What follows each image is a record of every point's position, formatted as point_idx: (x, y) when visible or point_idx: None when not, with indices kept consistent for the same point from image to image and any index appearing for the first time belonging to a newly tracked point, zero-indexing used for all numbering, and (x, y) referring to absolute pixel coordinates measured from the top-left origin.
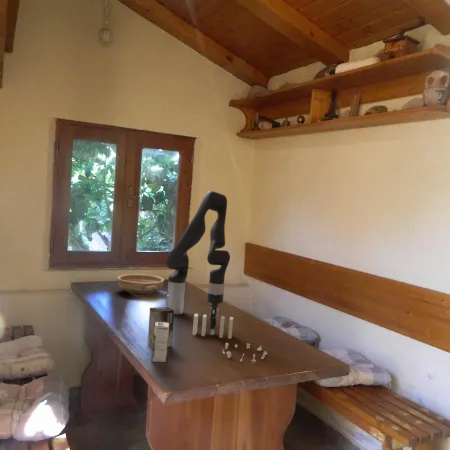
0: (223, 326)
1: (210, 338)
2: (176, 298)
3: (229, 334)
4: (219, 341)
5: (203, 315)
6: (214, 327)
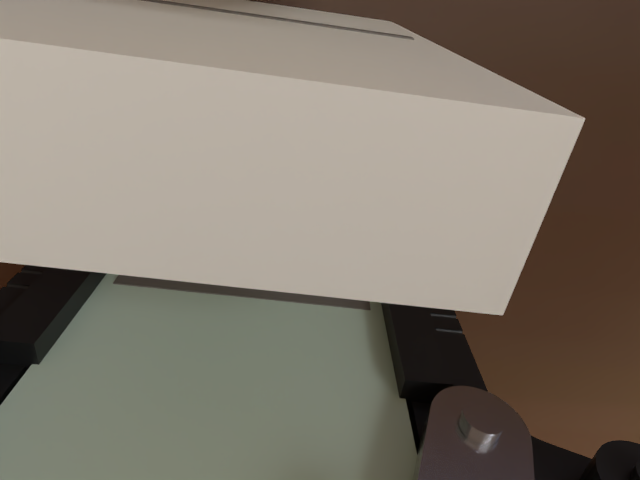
0: None
1: None
2: None
3: None
4: (6, 281)
5: (271, 80)
6: None
